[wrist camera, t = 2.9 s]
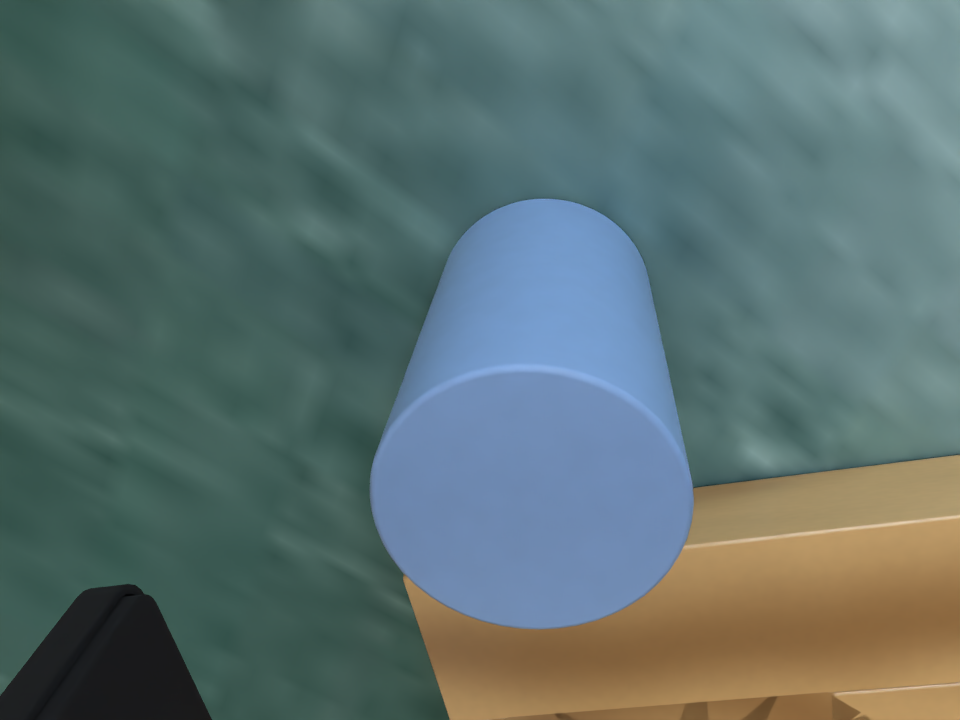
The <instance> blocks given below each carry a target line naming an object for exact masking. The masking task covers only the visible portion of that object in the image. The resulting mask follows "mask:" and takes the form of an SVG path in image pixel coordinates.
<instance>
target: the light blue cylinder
mask: <svg viewBox="0 0 960 720" xmlns="http://www.w3.org/2000/svg"><path fill="white" fill-rule="evenodd" d="M369 492H370V502H371V510H372V514H373V518H374V521H375V525H376V528H377V531H378V533H379V535H380V538H381V540H382V542H383V544H384V546H385V548H386V550H387V551H388V553H389V555H390V556H391V558H392V559H393V561H394V562H395V563H396V564H397V566H398V567H399V568H400V569H401V571H402V572H403V573H404V574H405V575H406V576H407V577H408V578H409V579H410V580H411V581H412V582H413V583H414V584H415V585H416V586H417V587H419V588H420V589H421V590H422V591H424V592H425V593H426V594H428V595H429V596H430V597H432V598H433V599H435V600H437V601H438V602H440V603H441V604H443V605H445V606H446V607H448V608H451V609H453V610H455V611H457V612H459V613H461V614H463V615H466V616H469V617H471V618H474V619H477V620H480V621H483V622H487V623H491V624H495V625H499V626H505V627H512V628H519V629H538V630H539V629H558V628H565V627H572V626H578V625H581V624H585V623H589V622H593V621H596V620H599V619H602V618H604V617H607V616H610V615H612V614H614V613H616V612H618V611H620V610H622V609H624V608H626V607H628V606H630V605H631V604H633V603H634V602H636V601H637V600H639V599H640V598H642V597H643V596H645V595H646V594H647V593H648V592H649V591H650V590H652V589H653V588H654V587H655V586H656V585H657V584H658V583H659V582H660V581H661V580H662V579H663V578H664V576H665V575H666V574H667V573H668V572H669V571H670V569H671V568H672V566H673V565H674V563H675V561H676V560H677V558H678V557H679V555H680V553H681V551H682V549H683V546H684V544H685V542H686V540H687V538H688V534H689V530H690V527H691V523H692V517H693V508H694V495H693V483H692V479H691V474H690V469H689V465H688V460H687V455H686V451H685V446H684V441H683V437H682V432H681V427H680V423H679V418H678V413H677V409H676V404H675V399H674V395H673V390H672V385H671V381H670V376H669V371H668V367H667V362H666V357H665V353H664V348H663V343H662V339H661V334H660V329H659V325H658V320H657V315H656V311H655V306H654V301H653V297H652V292H651V287H650V283H649V278H648V274H647V270H646V267H645V264H644V262H643V259H642V257H641V255H640V253H639V251H638V250H637V248H636V246H635V245H634V243H633V242H632V241H631V239H630V238H629V237H628V235H627V234H626V233H625V232H624V231H623V230H622V229H621V228H620V227H619V226H618V225H616V224H615V223H614V222H612V221H611V220H610V219H609V218H607V217H606V216H604V215H602V214H600V213H599V212H597V211H595V210H593V209H591V208H588V207H586V206H583V205H581V204H577V203H574V202H570V201H565V200H558V199H532V200H524V201H520V202H516V203H512V204H509V205H506V206H504V207H501V208H499V209H496V210H494V211H493V212H491V213H489V214H487V215H486V216H484V217H483V218H481V219H480V220H479V221H477V222H476V223H475V224H473V225H472V226H471V227H470V228H469V229H468V230H467V231H466V232H465V233H464V234H463V236H462V237H461V238H460V239H459V241H458V242H457V243H456V245H455V246H454V248H453V250H452V252H451V254H450V255H449V257H448V260H447V263H446V265H445V268H444V270H443V273H442V276H441V278H440V281H439V284H438V287H437V289H436V292H435V295H434V297H433V300H432V303H431V305H430V308H429V311H428V314H427V316H426V319H425V322H424V324H423V327H422V330H421V332H420V335H419V338H418V341H417V343H416V346H415V349H414V351H413V354H412V357H411V359H410V362H409V365H408V368H407V370H406V373H405V376H404V378H403V381H402V384H401V386H400V389H399V392H398V395H397V397H396V400H395V403H394V405H393V408H392V411H391V413H390V416H389V419H388V422H387V424H386V427H385V430H384V432H383V435H382V438H381V440H380V443H379V446H378V449H377V451H376V454H375V457H374V460H373V465H372V470H371V474H370V491H369Z"/></svg>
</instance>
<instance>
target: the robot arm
mask: <svg viewBox="0 0 960 720" xmlns="http://www.w3.org/2000/svg"><path fill="white" fill-rule="evenodd" d="M0 720H212V719H211V717H210V715H209V713H208V711H207V709H206V706H205V704H204V702H203V700H202V698H201V696H200V694H199V692H198V690H197V688H196V685H195V683H194V681H193V679H192V677H191V675H190V673H189V671H188V669H187V667H186V664H185V662H184V660H183V658H182V656H181V654H180V652H179V650H178V648H177V645H176V643H175V641H174V639H173V637H172V635H171V633H170V631H169V629H168V627H167V624H166V622H165V620H164V618H163V616H162V614H161V612H160V610H159V608H158V606H157V603H156V602H155V600H154V599H153V598H152V597H151V596H149V595H144V593H143V592H142V590H141V589H140V588H138V587H137V586H135V585H131V584H126V585H117V586H108V587H99V588H91V589H88V590H85V591H83V592H82V593H81V594H80V595H79V596H78V597H77V598H76V599H75V601H74V602H73V603H72V605H71V606H70V607H69V608H68V610H67V611H66V612H65V614H64V615H63V616H62V617H61V619H60V620H59V621H58V622H57V624H56V625H55V626H54V628H53V629H52V630H51V631H50V633H49V634H48V635H47V637H46V638H45V639H44V640H43V642H42V643H41V644H40V646H39V647H38V648H37V649H36V651H35V652H34V653H33V655H32V656H31V657H30V658H29V660H28V661H27V662H26V664H25V665H24V666H23V667H22V669H21V670H20V671H19V673H18V674H17V675H16V676H15V678H14V679H13V680H12V682H11V683H10V684H9V685H8V687H7V688H6V689H5V691H4V692H3V693H2V694H1V696H0Z"/></svg>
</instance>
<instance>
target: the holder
mask: <svg viewBox="0 0 960 720" xmlns="http://www.w3.org/2000/svg"><path fill="white" fill-rule="evenodd" d="M693 495H694V508H693V517H692V523H691V527H690V530H689V534H688V538H687V540H686V542H685V544H684V546H683V549H682V551H681V553H680V555H679V557H678V558H677V560H676V561H675V563H674V565H673V566H672V568H671V569H670V571H669V572H668V573H667V574H666V575H665V576H664V578H663V579H662V580H661V581H660V582H659V583H658V584H657V585H656V586H655V587H654V588H653V589H652V590H650V591H649V592H648V593H647V594H646V595H645V596H643V597H642V598H640V599H639V600H637V601H636V602H634V603H633V604H631V605H630V606H628V607H626V608H624V609H622V610H620V611H618V612H616V613H614V614H612V615H610V616H607V617H604V618H602V619H599V620H596V621H593V622H589V623H585V624H581V625H578V626H572V627H565V628H558V629H539V630H538V629H519V628H512V627H505V626H499V625H495V624H491V623H487V622H483V621H480V620H477V619H474V618H471V617H469V616H466V615H463V614H461V613H459V612H457V611H455V610H453V609H451V608H448V607H446V606H445V605H443V604H441V603H440V602H438V601H437V600H435V599H433V598H432V597H430V596H429V595H428V594H426V593H425V592H424V591H422V590H421V589H420V588H419V587H417V586H416V585H415V584H414V583H413V582H412V581H411V580H410V579H409V578H408V577H407V576H406V575H405V574H404V576H403V581H404V584H405V587H406V590H407V593H408V596H409V598H410V601H411V604H412V607H413V610H414V613H415V616H416V619H417V622H418V625H419V628H420V631H421V634H422V637H423V640H424V643H425V646H426V649H427V652H428V655H429V658H430V661H431V664H432V667H433V670H434V673H435V676H436V679H437V682H438V685H439V688H440V691H441V694H442V697H443V700H444V703H445V706H446V709H447V712H448V715H449V718H450V720H960V455H953V456H945V457H937V458H929V459H921V460H913V461H905V462H897V463H889V464H881V465H873V466H865V467H857V468H849V469H841V470H833V471H825V472H817V473H808V474H800V475H792V476H784V477H776V478H768V479H760V480H752V481H744V482H736V483H728V484H720V485H712V486H704V487H696V488H693Z"/></svg>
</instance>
